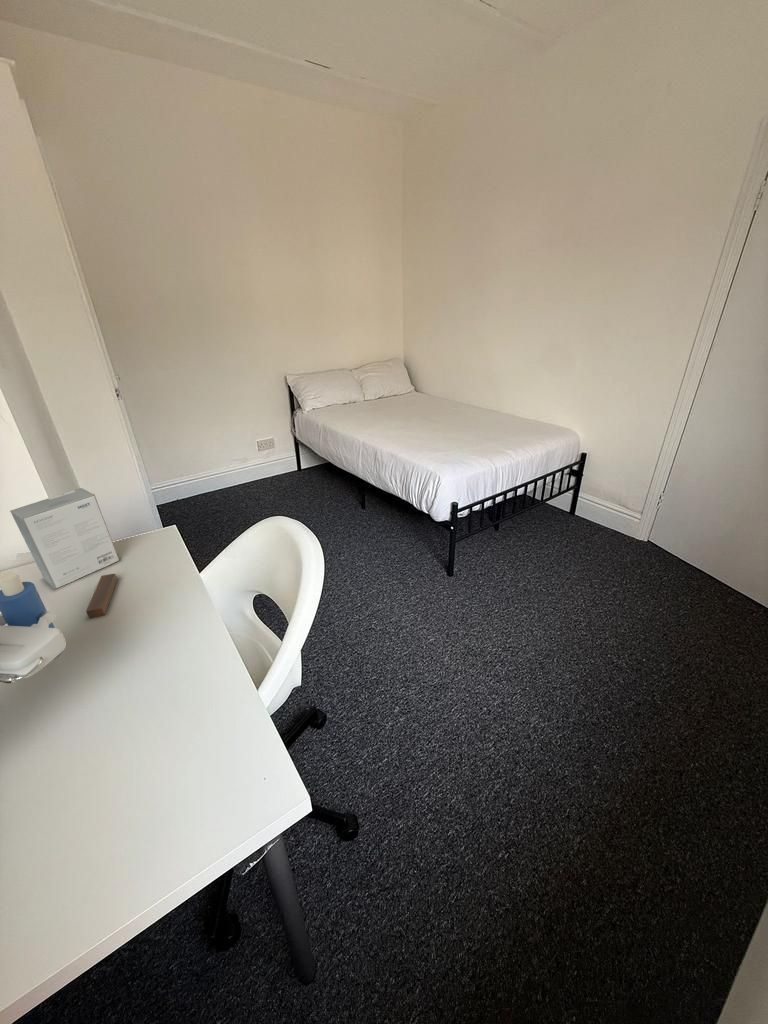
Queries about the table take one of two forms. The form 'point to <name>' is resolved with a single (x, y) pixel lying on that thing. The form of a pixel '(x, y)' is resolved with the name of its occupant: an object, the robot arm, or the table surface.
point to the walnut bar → (101, 596)
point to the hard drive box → (66, 536)
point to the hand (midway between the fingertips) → (32, 613)
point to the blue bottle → (20, 601)
